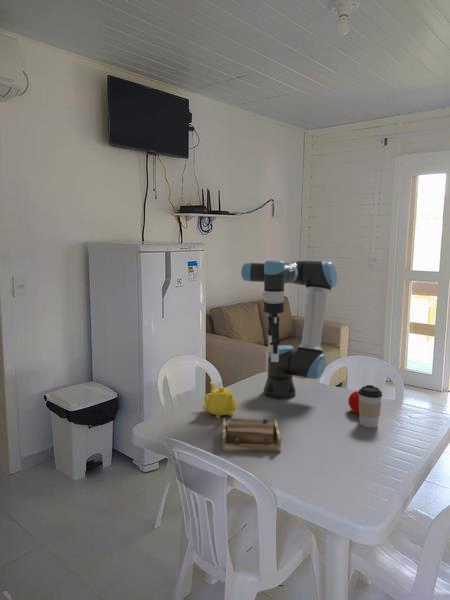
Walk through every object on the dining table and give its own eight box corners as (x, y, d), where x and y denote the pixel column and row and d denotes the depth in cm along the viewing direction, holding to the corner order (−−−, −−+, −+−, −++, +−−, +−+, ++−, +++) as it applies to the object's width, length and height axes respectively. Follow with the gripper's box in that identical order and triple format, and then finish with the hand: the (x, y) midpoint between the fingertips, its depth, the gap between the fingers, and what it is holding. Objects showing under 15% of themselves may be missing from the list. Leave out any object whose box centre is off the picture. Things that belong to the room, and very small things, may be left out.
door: (230, 431, 168) (230, 416, 168) (273, 434, 166) (273, 418, 166) (226, 444, 158) (226, 428, 157) (272, 447, 155) (272, 431, 155)
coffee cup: (382, 429, 174) (384, 392, 172) (357, 427, 176) (359, 390, 174) (378, 420, 183) (380, 385, 181) (355, 418, 185) (357, 383, 183)
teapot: (193, 408, 194) (193, 383, 192) (224, 403, 200) (224, 378, 199) (213, 425, 176) (213, 397, 174) (246, 419, 182) (246, 392, 181)
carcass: (223, 432, 170) (223, 418, 169) (275, 432, 170) (276, 419, 169) (222, 451, 154) (222, 436, 153) (280, 452, 154) (281, 437, 153)
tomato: (376, 419, 184) (377, 398, 183) (346, 414, 189) (347, 394, 188) (378, 410, 194) (379, 390, 193) (349, 406, 198) (350, 386, 197)
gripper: (261, 296, 181) (261, 347, 184) (266, 307, 156) (265, 366, 160) (280, 296, 181) (279, 347, 184) (287, 307, 156) (286, 366, 159)
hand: (273, 356), depth 172 cm, fingers open, 13 cm apart
